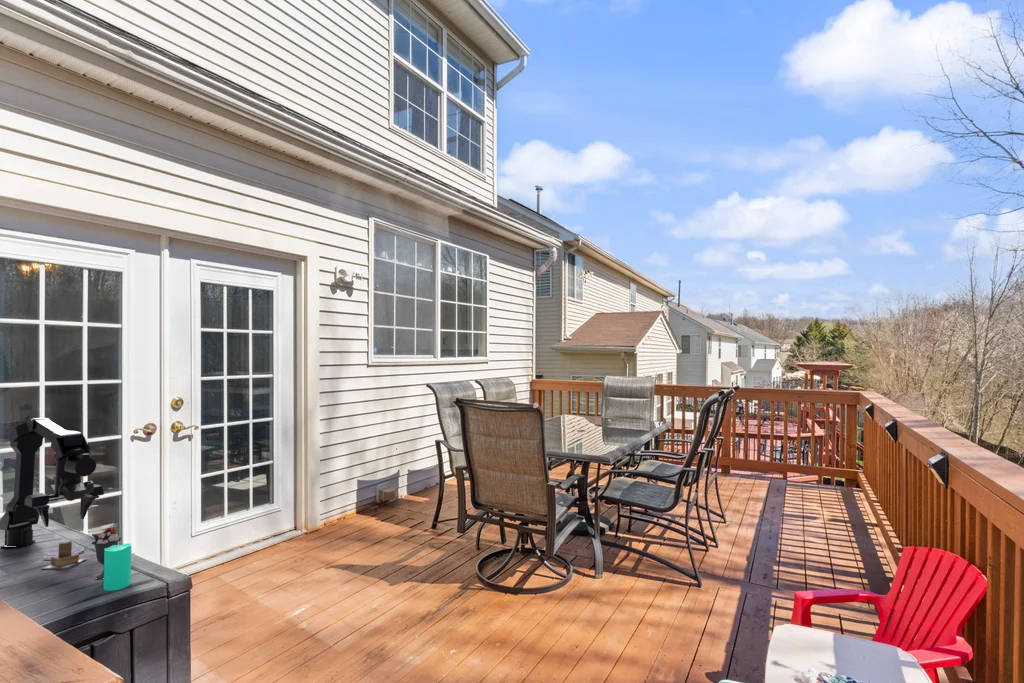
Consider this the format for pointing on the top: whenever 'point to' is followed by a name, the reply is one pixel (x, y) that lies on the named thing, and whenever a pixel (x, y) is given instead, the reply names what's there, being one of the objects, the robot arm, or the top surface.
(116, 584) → the candle
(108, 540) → the sundae
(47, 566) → the marked card
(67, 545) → the stamp
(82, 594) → the top surface
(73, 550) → the ink pad
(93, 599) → the top surface
